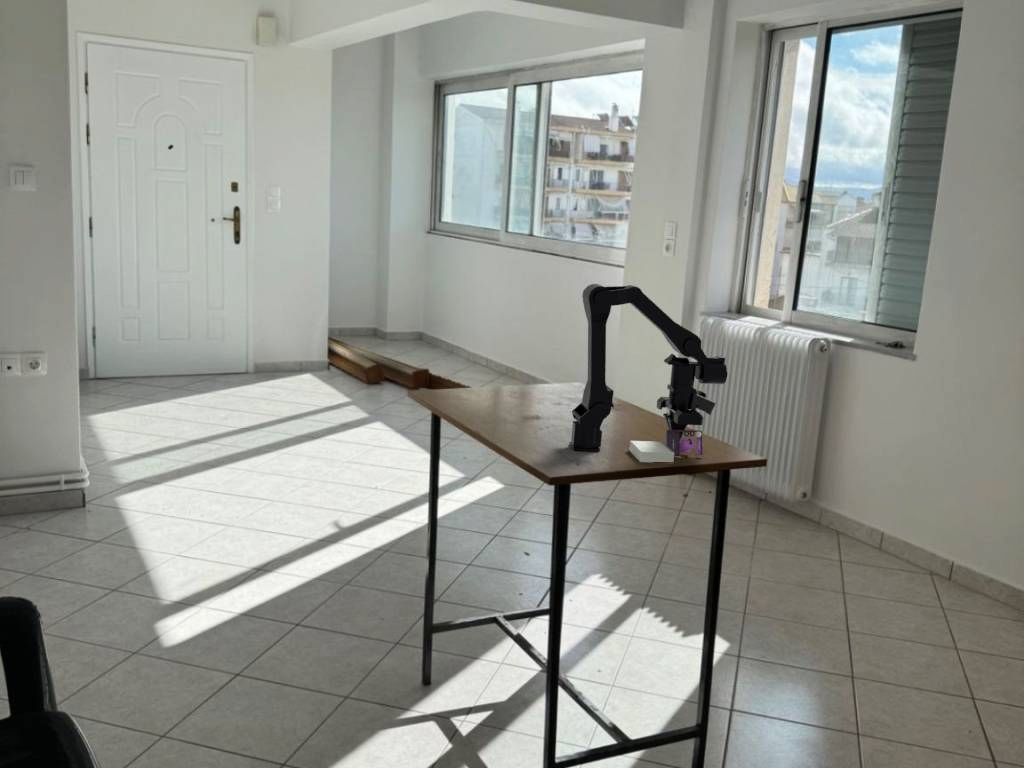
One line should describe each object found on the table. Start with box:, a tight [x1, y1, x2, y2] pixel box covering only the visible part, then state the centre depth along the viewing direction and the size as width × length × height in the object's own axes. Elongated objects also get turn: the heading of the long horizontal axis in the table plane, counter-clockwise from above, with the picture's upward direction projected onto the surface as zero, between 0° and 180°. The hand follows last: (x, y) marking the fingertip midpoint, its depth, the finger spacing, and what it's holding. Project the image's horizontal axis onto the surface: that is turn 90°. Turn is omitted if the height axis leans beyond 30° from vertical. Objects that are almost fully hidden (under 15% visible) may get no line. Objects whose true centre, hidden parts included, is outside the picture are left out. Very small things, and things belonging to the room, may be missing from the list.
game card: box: [665, 429, 703, 456], centre depth 230 cm, size 7×5×9 cm
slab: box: [628, 440, 675, 463], centre depth 226 cm, size 8×10×3 cm
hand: (675, 444), depth 233 cm, fingers closed
